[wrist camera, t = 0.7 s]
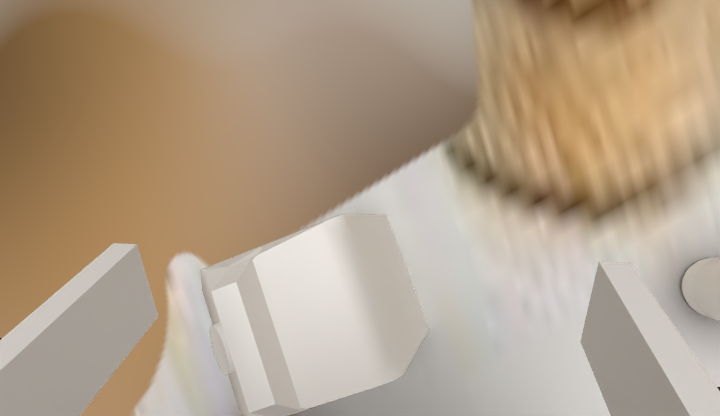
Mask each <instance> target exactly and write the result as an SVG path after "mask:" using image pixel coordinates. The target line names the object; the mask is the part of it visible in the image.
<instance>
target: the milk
mask: <svg viewBox="0 0 720 416" xmlns="http://www.w3.org/2000/svg"><path fill="white" fill-rule="evenodd" d="M201 282H202V291H203V294H204V297H205V301H206V304H207V307H208V310H209V313H210V317H211V320H212V323H213V325H211V326H210V339H211V344H212V348H213V352H214V355H215V358H216V360H217V362H218V365H219V367H220V369H221V370H222V372H223V373H224V374H225V375H229V378H230V381H231V384H232V388H233V391H234V394H235V397H236V401H237V404H238V407H239V410H240V411H241V413H242V415H243V416H289V415H292V414H295V413H298V412H301V411H304V410H308V409H311V408H314V407H317V406H320V405H323V404H326V403H329V402H332V401H335V400H338V399H341V398H344V397H347V396H350V395H353V394H356V393H359V392H362V391H366V390H369V389H372V388H375V387H378V386H381V385H384V384H386V383H389V382H391V381H394V380H396V379H398V378H399V377H401V376H402V375H403V374H404V373H405V371H406V369H407V367H408V366H409V364H410V362H411V360H412V359H413V357H414V355H415V353H416V352H417V350H418V348H419V347H420V345H421V343H422V341H423V340H424V338H425V336H426V334H427V333H428V331H429V326H428V323H427V321H426V318H425V315H424V313H423V310H422V307H421V305H420V302H419V299H418V297H417V294H416V291H415V289H414V286H413V284H412V281H411V278H410V276H409V273H408V270H407V268H406V265H405V262H404V260H403V257H402V254H401V252H400V249H399V246H398V244H397V241H396V238H395V236H394V233H393V230H392V228H391V225H390V222H389V220H388V217H387V215H372V214H342V215H339V216H337V217H334V218H331V219H329V220H326V221H324V222H321V223H319V224H316V225H314V226H311V227H308V228H306V229H303V230H301V231H298V232H296V233H293V234H291V235H288V236H286V237H283V238H281V239H278V240H275V241H273V242H270V243H268V244H265V245H263V246H260V247H258V248H255V249H253V250H250V251H247V252H245V253H242V254H240V255H237V256H235V257H232V258H230V259H227V260H225V261H222V262H219V263H217V264H214V265H212V266H209V267H207V268H204V269H202V270H201Z"/></svg>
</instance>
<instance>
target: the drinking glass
mask: <svg viewBox="0 0 720 416" xmlns="http://www.w3.org/2000/svg"><path fill="white" fill-rule="evenodd" d="M682 292H683V296H684V298H685V300H686V302H687V303H688V304H689V306H690V307H691V308H692V309H693V310H695V311H696V312H697V313H699V314H701V315H703V316H705V317H708V318H711V319H714V320H717V321H720V258H718V257H714V258H706V259H702V260H700V261H698V262H696V263H694V264H693V265H692V266H690V267H689V268H688V270H687V271H686V273H685V274H684V277H683V280H682Z"/></svg>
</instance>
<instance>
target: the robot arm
mask: <svg viewBox="0 0 720 416" xmlns="http://www.w3.org/2000/svg"><path fill="white" fill-rule="evenodd" d="M157 318H158V313H157V310H156V307H155V303H154V300H153V297H152V294H151V290H150V286H149V283H148V280H147V276H146V273H145V270H144V266H143V263H142V260H141V257H140V253H139V250H138V246H137V244H112V245H111V246H110V247H109V248H108V249H107V250H105V251H104V252H103V253H102V254H101V255H99V256H98V257H97V258H96V259H95V260H94V261H92V262H91V263H90V264H89V265H88V266H87V267H85V268H84V269H83V270H82V271H81V272H79V274H77V275H76V276H75V277H74V278H72V279H71V280H70V281H69V282H68V283H67V284H65V285H64V286H63V287H62V288H61V289H60V290H59V291H57V292H56V293H55V294H54V295H53V296H51V297H50V298H49V299H48V300H47V301H46V302H44V303H43V304H42V305H41V306H40V307H39V308H38V309H36V310H35V311H34V312H33V313H31V314H30V315H29V316H28V317H27V318H26V319H24V320H23V321H22V322H21V323H20V324H19V325H17V326H16V327H15V328H14V329H13V330H12V331H10V332H9V333H8V334H7V335H6V336H4V337H3V338H0V416H80V415H81V414H82V412H83V411H84V410H85V409H86V407H87V406H88V405H89V404H90V402H91V401H92V400H93V398H94V397H95V396H96V395H97V393H98V392H99V391H100V390H101V388H102V387H103V386H104V385H105V383H106V382H107V381H108V380H109V378H110V377H111V376H112V374H113V373H114V372H115V371H116V369H117V368H118V367H119V366H120V364H121V363H122V362H123V361H124V359H125V358H126V357H127V355H128V354H129V353H130V352H131V350H132V349H133V348H134V347H135V345H136V344H137V343H138V342H139V340H140V339H141V338H142V337H143V335H144V334H145V333H146V331H147V330H148V329H149V328H150V326H151V325H152V324H153V323H154V321H155V320H156V319H157ZM581 344H582V346H583V349H584V351H585V354H586V356H587V358H588V361H589V363H590V366H591V368H592V371H593V373H594V375H595V378H596V380H597V383H598V385H599V388H600V390H601V392H602V395H603V397H604V400H605V402H606V404H607V407H608V409H609V412H610V414H611V416H720V387H716V385H715V384H714V382H713V381H712V379H711V378H710V377H709V375H708V374H707V372H706V371H705V369H704V368H703V366H702V365H701V364H700V362H699V361H698V359H697V358H696V356H695V355H694V354H693V352H692V351H691V349H690V348H689V346H688V345H687V344H686V342H685V341H684V339H683V338H682V336H681V335H680V333H679V332H678V331H677V329H676V328H675V326H674V325H673V323H672V322H671V321H670V319H669V318H668V316H667V315H666V313H665V312H664V311H663V309H662V308H661V306H660V305H659V303H658V302H657V301H656V299H655V298H654V296H653V295H652V293H651V292H650V290H649V289H648V288H647V286H646V285H645V283H644V282H643V280H642V279H641V278H640V276H639V275H638V273H637V272H636V270H635V269H634V268H633V266H632V265H631V263H626V262H599V263H598V267H597V272H596V276H595V281H594V285H593V289H592V294H591V298H590V302H589V307H588V311H587V316H586V320H585V324H584V329H583V333H582V338H581Z"/></svg>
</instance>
